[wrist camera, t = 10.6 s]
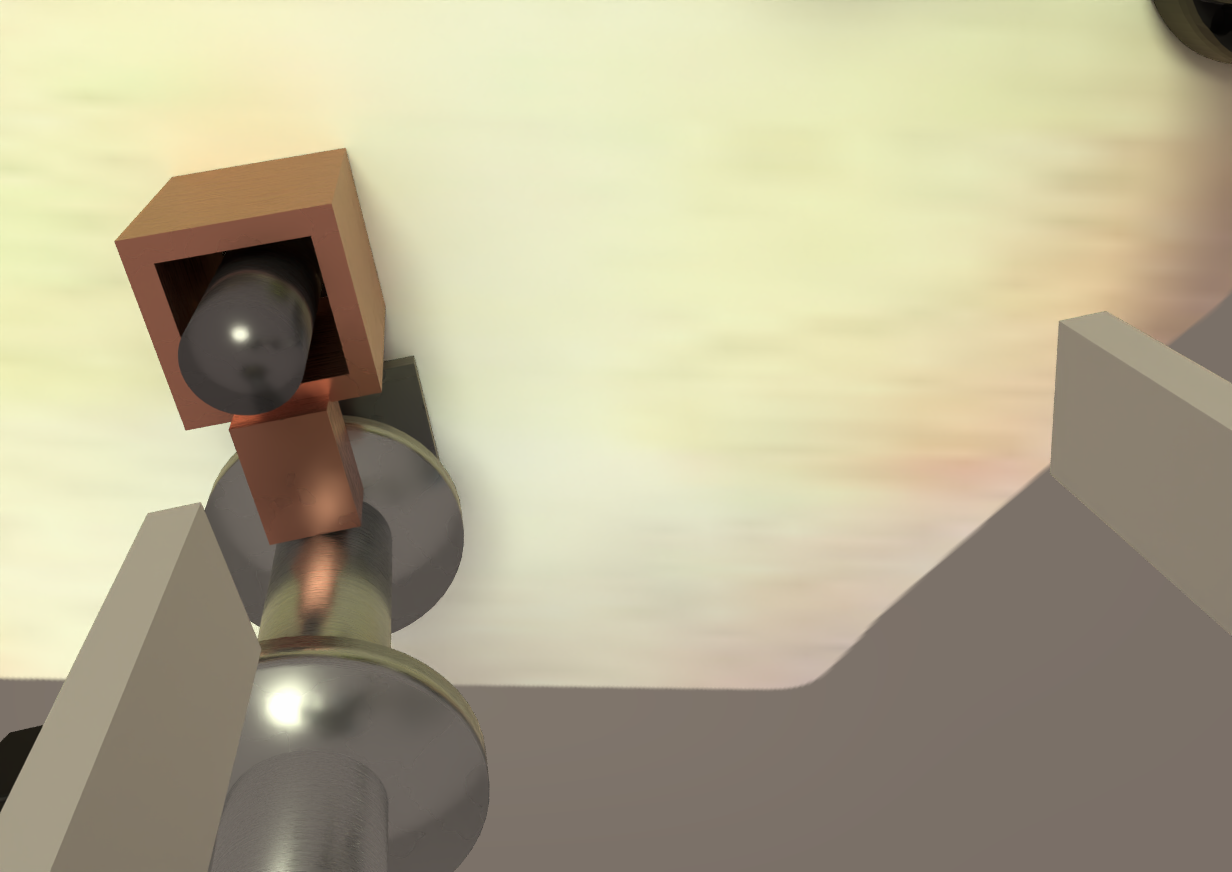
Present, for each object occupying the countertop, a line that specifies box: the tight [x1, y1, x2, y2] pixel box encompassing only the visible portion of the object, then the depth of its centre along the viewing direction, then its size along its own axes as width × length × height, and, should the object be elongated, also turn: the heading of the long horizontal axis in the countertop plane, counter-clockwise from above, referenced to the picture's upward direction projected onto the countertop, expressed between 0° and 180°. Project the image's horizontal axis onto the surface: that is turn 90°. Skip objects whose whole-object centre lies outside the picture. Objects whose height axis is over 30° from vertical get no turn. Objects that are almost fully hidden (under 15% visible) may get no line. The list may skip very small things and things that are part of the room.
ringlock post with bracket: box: [114, 148, 489, 872], centre depth 36 cm, size 11×20×29 cm, turn 8°
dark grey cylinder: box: [178, 236, 324, 415], centre depth 40 cm, size 4×4×14 cm
